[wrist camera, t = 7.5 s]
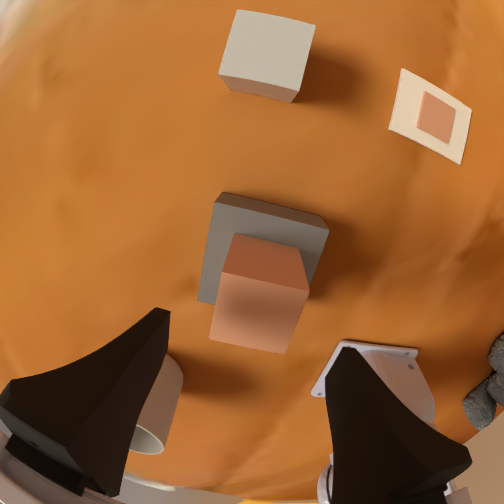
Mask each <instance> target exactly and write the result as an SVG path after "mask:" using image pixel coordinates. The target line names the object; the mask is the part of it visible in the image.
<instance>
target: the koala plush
mask: <svg viewBox="0 0 504 504" xmlns="http://www.w3.org/2000/svg"><path fill="white" fill-rule="evenodd" d="M490 350H491V351H490V354H489V356H488V358H489V359H488V360H489V362H490V365H491V366H492V367H493V368H494V370H495V371H496V370H497V372H495V373H494V374H493V375H491V376H490V377H489V378H488V379H486V380H485V381H483V382H482V383H481V384H480V385H479V386H478V387H477V388H476V389H474V390H473V391H471V393H470V394H469V395H468V397H466V398H465V399H464V401H463V407H464V411H465V414H466V416H467V417H468V419H469V420H470V422H471V424H472V425H473V426H474V427H475V428H476V429H478V430H480V431H481V430H482V429H484V428H485V427H488V425H490V423H491V422H492V421H493V419H494V417H495V412H496V407H497V405H496V402H498V403H499V404H500V405H502V406H503V407H504V334H502V335H501V336H500V337H499V338H498V339H496V340H495V342H494V344H493V346H492V348H491V349H490Z"/></svg>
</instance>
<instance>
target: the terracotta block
mask: <svg viewBox="0 0 504 504" xmlns="http://www.w3.org/2000/svg"><path fill="white" fill-rule="evenodd" d="M309 292H310V290H309V286H308V282H307V278H306V274H305V270H304V266H303V263H302V259H301V255H300V251H299V248H295V247H291V246H287V245H283V244H278V243H274V242H270V241H266V240H261V239H257V238H253V237H249V236H244V235H240V234H236V233H234V235H233V238H232V241H231V244H230V248H229V251H228V254H227V257H226V260H225V263H224V267H223V270H222V274H221V279H220V284H219V289H218V293H217V298H216V304H215V309H214V314H213V319H212V324H211V329H210V335H209V339H212V340H216V341H220V342H225V343H229V344H234V345H239V346H244V347H249V348H254V349H259V350H264V351H270V352H275V353H281V354H285V351H286V349H287V347H288V344H289V342H290V340H291V337H292V335H293V332H294V330H295V328H296V325H297V323H298V320H299V318H300V315H301V313H302V310H303V308H304V305H305V303H306V300H307V298H308V295H309Z"/></svg>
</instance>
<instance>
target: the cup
mask: <svg viewBox="0 0 504 504" xmlns="http://www.w3.org/2000/svg"><path fill="white" fill-rule="evenodd" d="M183 381H184V378H183V373H182V371H181V369H180V366H179V365H178V364H177V362H176V361H175V360H174V359H173V358H172V357H170V356H169V355H168V354H166V355H165V358H164V361H163V364H162V367H161V369H160V372H159V374H158V376H157V378H156V380H155V382H154V384H153V386H152V389H151V391H150V393H149V395H148V397H147V399H146V401H145V404H144V406H143V408H142V410H141V413H140V415H139V418H138V421H137V425H136V428H135V431H134V434H133V438H132V441H131V445H130V448H129V450H131V451H134V452H138V453H142V454H151V455H154V454H160V453H162V452H163V451H164V448H165V444H166V441H167V437H168V434H169V430H170V427H171V423H172V420H173V416H174V413H175V409H176V406H177V403H178V399H179V396H180V392H181V389H182V386H183Z"/></svg>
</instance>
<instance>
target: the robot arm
mask: <svg viewBox="0 0 504 504" xmlns="http://www.w3.org/2000/svg"><path fill="white" fill-rule="evenodd" d="M170 312H171V311H168V310H164V309H161V308H157V307H156V308H154V309H153V310H151V311H150V312H149V313H148V314H147V315H146V316H144V317H143V318H142V319H141V320H139V321H138V322H137V323H136V324H134V325H133V326H132V327H130V328H129V329H128V330H126V331H125V332H124V333H122V334H121V335H120V336H118V337H117V338H115V339H114V340H112V341H111V342H109V343H108V344H106V345H105V346H103V347H101V348H100V349H98V350H96V351H95V352H93V353H91V354H89V355H87V356H85V357H83V358H81V359H79V360H77V361H75V362H73V363H70V364H68V365H66V366H63V367H60V368H58V369H55V370H52V371H48V372H45V373H42V374H38V375H34V376H29V377H24V378H19V379H13V380H11V381H10V382H9V383H8V385H7V386H6V387H5V389H4V390H3V391H2V393H1V394H0V419H1V420H2V421H3V422H4V424H5V425H6V426H7V427H8V429H9V430H10V431H11V432H12V433H13V434H12V436H11V437H10V439H9V438H8V437H7V436H6V435H5V434H4V433H3V432H1V431H0V501H1V502H2V503H3V504H125V503H122V502H119V501H117V500H114V499H111V497H115V496H118V495H119V492H120V487H121V482H122V477H123V472H124V468H125V464H126V460H127V456H128V452H129V448H130V445H131V441H132V438H133V434H134V431H135V428H136V425H137V421H138V418H139V415H140V413H141V410H142V408H143V406H144V404H145V401H146V399H147V397H148V395H149V393H150V391H151V389H152V386H153V384H154V382H155V380H156V378H157V376H158V374H159V372H160V369H161V367H162V364H163V361H164V358H165V355H166V352H167V349H168V339H169V325H170ZM347 346H349V347H347ZM417 355H418V350H417V349H414V348H404V347H394V346H385V345H377V344H369V343H361V342H353V341H346V340H343V341H341V342H340V343H339V344H338V346H337V348H336V349H335V351H334V353H333V355H332V357H331V358H330V360H329V362H328V364H327V365H326V367H325V369H324V371H323V372H322V374H321V376H320V377H319V379H318V381H317V382H316V384H315V386H314V387H313V389H312V390H311V395H312V396H317V397H325V399H326V405H327V411H328V417H329V423H330V430H331V436H332V443H333V453H330V460H331V464H328V465H327V466H325V467H324V468H323V470H322V472H321V475H320V477H319V480H318V485H317V494H318V500H319V504H472V502H471V499H470V495H469V492H468V489H467V487H464V488H462V489H460V490H458V491H457V489H456V486H455V482H454V478H455V477H457V476H458V475H459V474H461V473H462V472H464V471H465V470H466V469H467V468H468V467H470V465H471V464H472V459H471V456H470V453H469V451H468V448H467V447H466V446H463V445H462V444H459V443H457V442H455V441H453V440H451V439H449V438H448V437H446V436H444V435H443V434H441V433H439V432H438V430H437V428H436V425H435V424H433V421H434V418H435V400H434V397H433V394H432V392H431V390H430V388H429V386H428V384H427V382H426V380H425V378H424V376H423V374H422V372H421V370H420V368H419V366H418V364H417V362H416V360H415V358H416V356H417ZM99 493H100V494H99ZM102 494H103V495H102ZM104 495H105V496H104ZM107 496H108V497H107ZM109 497H110V498H109Z"/></svg>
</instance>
